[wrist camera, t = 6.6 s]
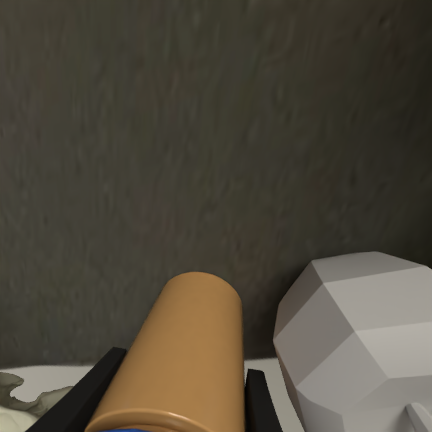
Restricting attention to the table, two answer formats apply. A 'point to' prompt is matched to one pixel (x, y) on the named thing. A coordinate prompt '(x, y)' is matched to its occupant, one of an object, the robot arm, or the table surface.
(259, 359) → the table surface
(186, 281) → the jar
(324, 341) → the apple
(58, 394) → the animal skull
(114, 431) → the lid
